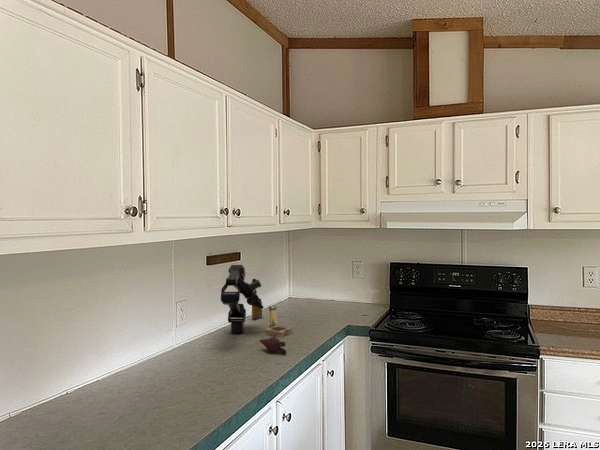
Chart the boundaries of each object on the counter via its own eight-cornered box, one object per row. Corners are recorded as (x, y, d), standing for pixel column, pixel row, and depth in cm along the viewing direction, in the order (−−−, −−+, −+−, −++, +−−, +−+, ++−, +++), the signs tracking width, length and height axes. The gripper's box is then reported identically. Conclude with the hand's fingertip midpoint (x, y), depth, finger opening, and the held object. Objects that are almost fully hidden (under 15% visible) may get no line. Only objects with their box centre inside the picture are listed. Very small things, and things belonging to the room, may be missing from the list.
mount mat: (274, 332, 222) (274, 332, 222) (261, 330, 227) (261, 329, 227) (284, 328, 229) (284, 328, 229) (271, 326, 234) (271, 325, 234)
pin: (273, 330, 225) (273, 307, 225) (267, 329, 227) (266, 307, 227) (278, 328, 229) (278, 306, 228) (272, 327, 231) (271, 305, 231)
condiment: (258, 316, 258) (258, 297, 258) (266, 319, 251) (266, 299, 251) (248, 318, 253) (248, 298, 253) (256, 321, 247) (256, 300, 247)
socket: (281, 338, 212) (281, 332, 212) (265, 335, 217) (265, 329, 217) (292, 333, 220) (292, 327, 220) (276, 330, 226) (276, 325, 225)
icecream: (253, 337, 192) (279, 345, 183) (263, 329, 197) (289, 337, 189) (255, 351, 194) (281, 359, 185) (265, 343, 199) (291, 351, 191)
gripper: (253, 278, 216) (274, 299, 219) (251, 271, 235) (271, 290, 237) (237, 294, 216) (259, 314, 218) (236, 286, 234) (256, 305, 237)
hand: (262, 305), depth 228 cm, fingers open, 9 cm apart
